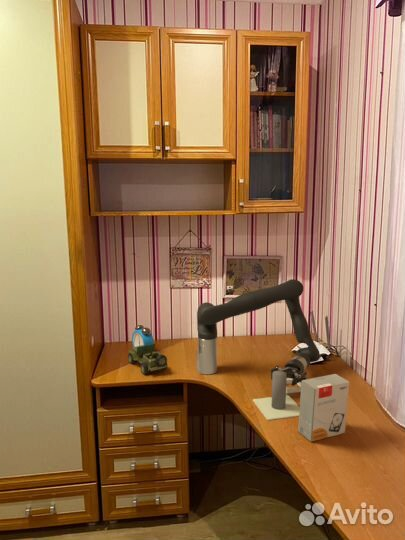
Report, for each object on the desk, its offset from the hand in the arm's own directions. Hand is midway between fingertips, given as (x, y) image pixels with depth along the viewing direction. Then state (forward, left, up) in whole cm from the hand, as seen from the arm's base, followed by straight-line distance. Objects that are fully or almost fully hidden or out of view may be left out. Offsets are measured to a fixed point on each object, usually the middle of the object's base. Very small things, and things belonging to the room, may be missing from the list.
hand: (282, 381), depth 169 cm
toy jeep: (-49, +50, -10) cm, 71 cm away
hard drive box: (+6, -23, -10) cm, 25 cm away
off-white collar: (+11, +12, -10) cm, 19 cm away
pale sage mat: (-2, -3, -10) cm, 11 cm away
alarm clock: (-49, +69, -10) cm, 85 cm away
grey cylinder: (-2, -2, -9) cm, 10 cm away
